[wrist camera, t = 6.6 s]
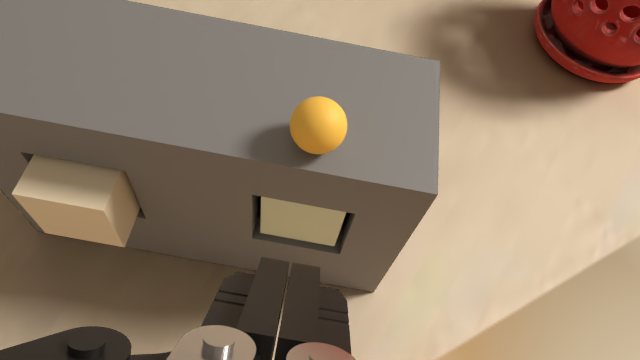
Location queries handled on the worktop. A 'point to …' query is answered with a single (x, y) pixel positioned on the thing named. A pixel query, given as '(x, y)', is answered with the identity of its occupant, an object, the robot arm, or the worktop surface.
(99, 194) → the block
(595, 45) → the plant pot
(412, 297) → the worktop surface
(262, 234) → the keypad console
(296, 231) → the key sage
